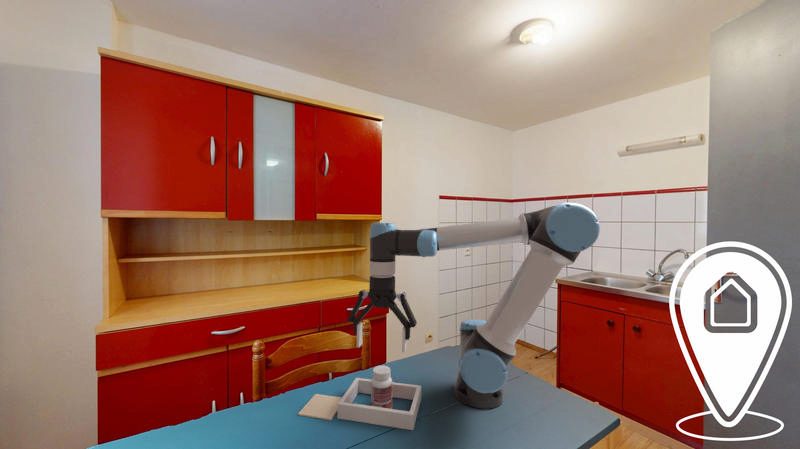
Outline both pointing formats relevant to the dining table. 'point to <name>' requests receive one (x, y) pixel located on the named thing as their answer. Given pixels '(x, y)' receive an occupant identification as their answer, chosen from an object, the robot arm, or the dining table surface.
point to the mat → (321, 407)
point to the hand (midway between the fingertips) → (381, 348)
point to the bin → (380, 414)
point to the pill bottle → (381, 387)
